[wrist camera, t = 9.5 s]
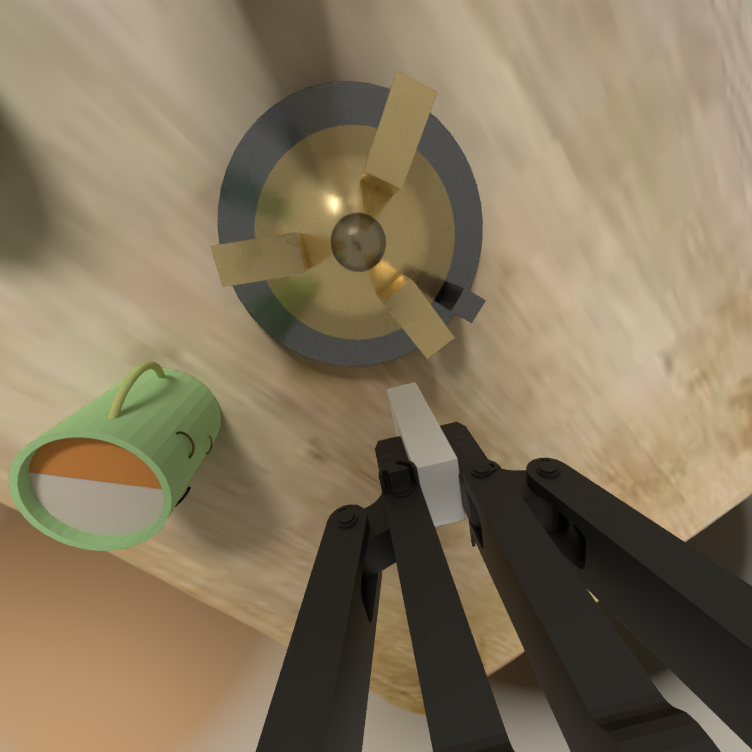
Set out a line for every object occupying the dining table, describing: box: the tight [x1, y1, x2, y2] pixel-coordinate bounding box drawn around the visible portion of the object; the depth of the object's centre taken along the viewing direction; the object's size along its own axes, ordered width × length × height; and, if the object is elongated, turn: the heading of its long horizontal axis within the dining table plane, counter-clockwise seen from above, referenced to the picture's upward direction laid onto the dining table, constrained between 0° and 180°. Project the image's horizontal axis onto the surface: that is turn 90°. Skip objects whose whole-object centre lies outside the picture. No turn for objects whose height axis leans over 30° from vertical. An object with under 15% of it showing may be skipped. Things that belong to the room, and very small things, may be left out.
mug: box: [9, 362, 222, 551], centre depth 30 cm, size 13×10×12 cm
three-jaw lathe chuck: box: [210, 70, 455, 359], centre depth 27 cm, size 17×18×6 cm
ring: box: [218, 81, 486, 366], centre depth 28 cm, size 22×22×7 cm
